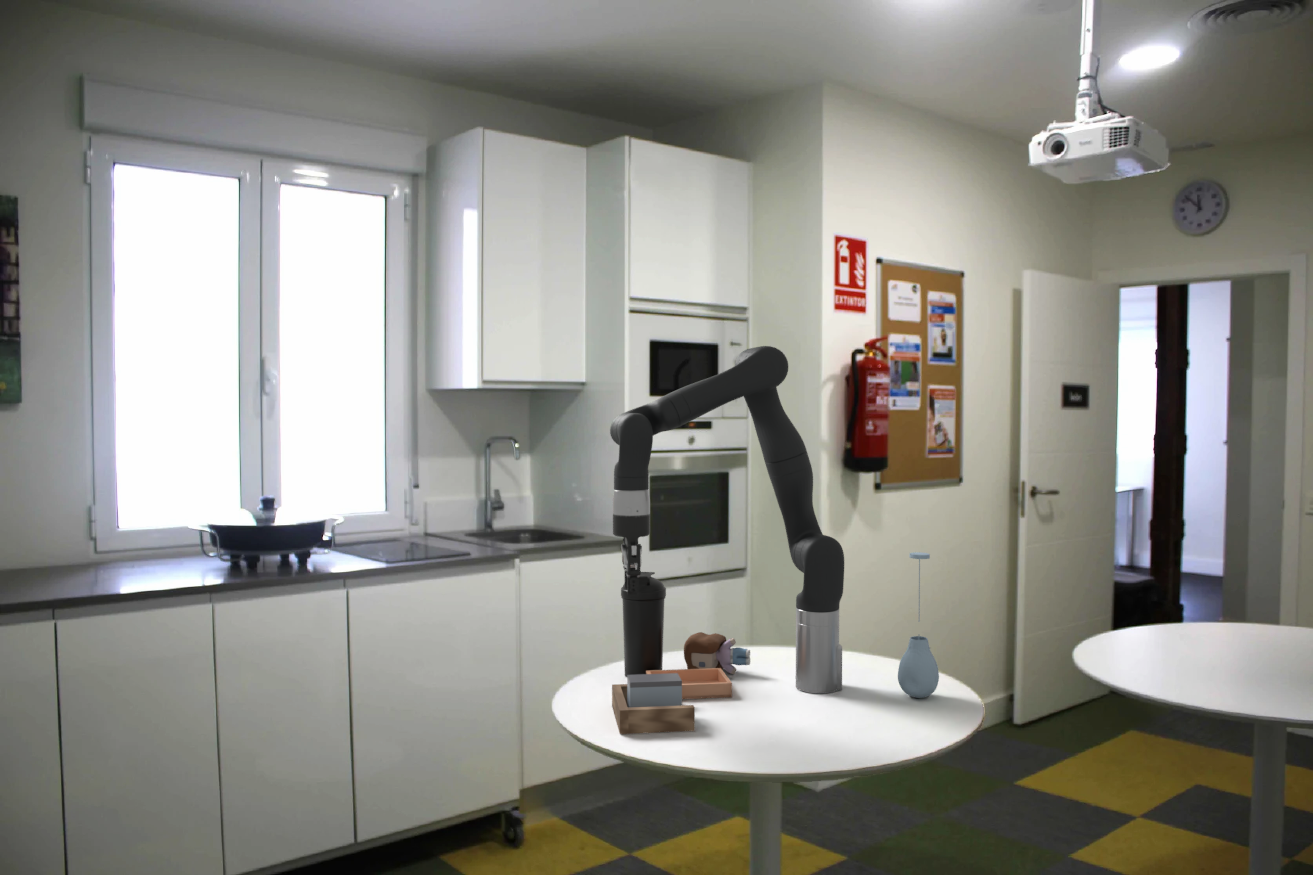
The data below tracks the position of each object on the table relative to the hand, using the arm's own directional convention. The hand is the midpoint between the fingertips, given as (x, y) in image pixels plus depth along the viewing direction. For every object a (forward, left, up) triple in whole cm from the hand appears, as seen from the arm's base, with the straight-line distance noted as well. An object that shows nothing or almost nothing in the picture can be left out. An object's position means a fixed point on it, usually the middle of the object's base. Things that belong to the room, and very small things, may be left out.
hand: (631, 592), depth 196 cm
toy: (-22, -23, -23) cm, 39 cm away
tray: (-13, -9, -23) cm, 28 cm away
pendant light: (-60, +1, -23) cm, 64 cm away
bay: (-3, +8, -23) cm, 25 cm away
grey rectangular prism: (-4, +8, -23) cm, 25 cm away
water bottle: (-5, -23, -23) cm, 33 cm away
